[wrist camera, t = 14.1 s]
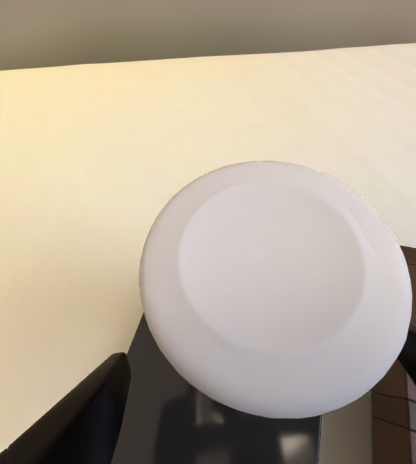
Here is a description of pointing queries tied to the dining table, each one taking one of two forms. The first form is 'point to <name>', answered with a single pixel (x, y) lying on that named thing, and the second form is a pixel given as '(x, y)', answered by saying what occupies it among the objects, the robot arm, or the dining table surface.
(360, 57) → the dining table surface
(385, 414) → the spice rack
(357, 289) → the sprinkles bottle
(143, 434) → the slate board
